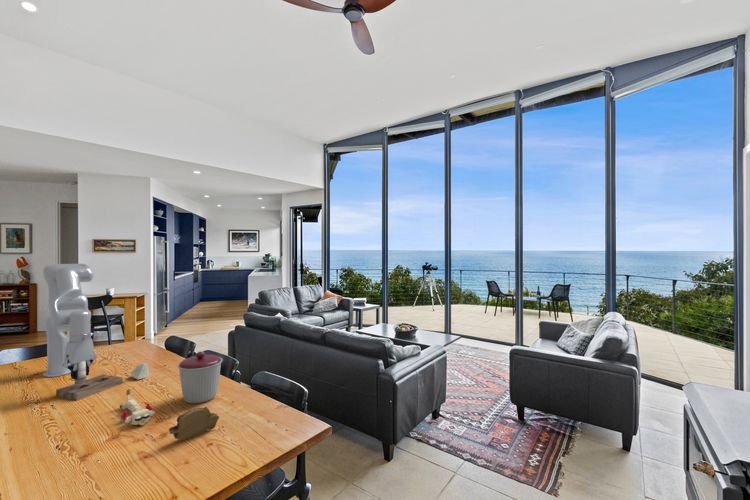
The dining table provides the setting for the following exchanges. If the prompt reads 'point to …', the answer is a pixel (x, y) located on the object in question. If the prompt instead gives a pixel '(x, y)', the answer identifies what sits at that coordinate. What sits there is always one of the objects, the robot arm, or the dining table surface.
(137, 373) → the seashell
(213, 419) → the wooden carving
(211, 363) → the canister
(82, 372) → the grey domed cylinder
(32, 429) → the dining table surface
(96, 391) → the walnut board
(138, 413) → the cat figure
